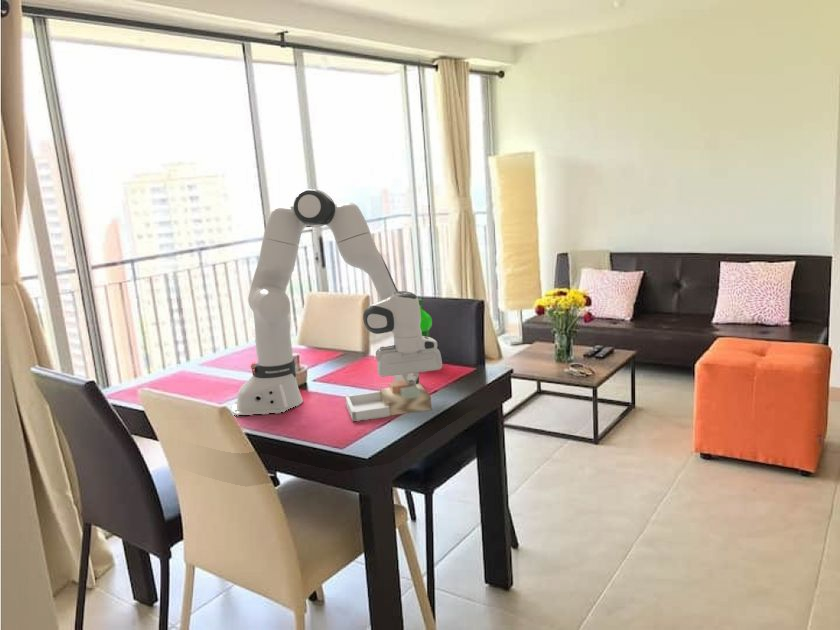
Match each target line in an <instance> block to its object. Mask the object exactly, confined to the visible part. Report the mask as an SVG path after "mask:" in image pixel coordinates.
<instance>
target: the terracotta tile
mask: <svg viewBox="0 0 840 630" xmlns="http://www.w3.org/2000/svg"><path fill="white" fill-rule="evenodd" d="M388 385H389V386H388V388H390V390H391V391H392V393H398V392H400V388H405V387H408V384H407V383H406V382H405V380H404V381H397V382H394V381H391V382H388Z"/></svg>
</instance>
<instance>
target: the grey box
mask: <svg viewBox="0 0 840 630" xmlns="http://www.w3.org/2000/svg"><path fill="white" fill-rule="evenodd" d="M344 397H345V398H344V399H345V406H346V409H347V410H348V414H349V416H350V415H351V416H350V418H351V421H352V420H353V421H357V422H361V421H360V420H364V421H370V420H369V419H371V420H376V419H383V418H389V417H391V415H390V412H389V406H384V404H383V403H382V401H381V395H380V390H377V391H371V392H363V393H357V394H348V395H345V396H344ZM353 421H352V422H353Z"/></svg>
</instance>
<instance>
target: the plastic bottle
mask: <svg viewBox="0 0 840 630" xmlns="http://www.w3.org/2000/svg"><path fill="white" fill-rule="evenodd" d="M418 301H419V306H420V314H421V322H420V329H421V331H422V336H426V337H430V329H431V328H432V327H433V319H432V316H431V315H430V314H429V313H427V311H425V310H424V309H423V308H422V305H423V299H422V298H418Z"/></svg>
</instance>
